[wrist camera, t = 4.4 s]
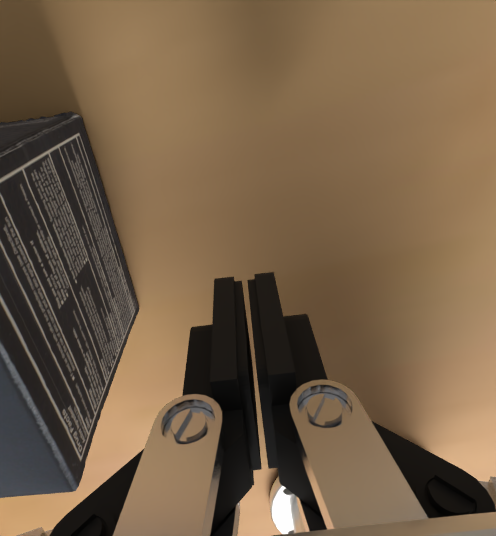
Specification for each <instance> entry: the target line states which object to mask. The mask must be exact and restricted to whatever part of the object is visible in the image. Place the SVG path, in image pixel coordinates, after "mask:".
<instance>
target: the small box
mask: <svg viewBox="0 0 496 536" xmlns="http://www.w3.org/2000/svg"><path fill="white" fill-rule="evenodd" d="M138 312H139V306H138V303H137V299H136V296H135V292H134V288H133V285H132V282H131V278H130V275H129V272H128V269H127V265H126V262H125V258H124V255H123V252H122V249H121V245H120V242H119V238H118V235H117V232H116V229H115V225H114V222H113V218H112V215H111V212H110V208H109V205H108V202H107V198H106V195H105V192H104V188H103V185H102V182H101V179H100V175H99V172H98V168H97V165H96V162H95V159H94V156H93V152H92V149H91V146H90V143H89V140H88V137H87V133H86V130H85V127H84V124H83V119H82V117H81V116H79V115H77V114H75V113H73V112H68V113H61V114H58V115H55V116H54V117H44V116H43V117H40V118H39V119H32V118H31V119H28V120H26V121H23V120H20V121H17V122H9V123H4V122H1V123H0V498H4V497H14V496H26V495H38V494H51V493H62V492H73V491H76V489H77V488H78V486H79V483H80V481H81V478H82V474H83V471H84V468H85V461H86V458H87V455H88V452H89V449H90V446H91V443H92V438H93V435H94V432H95V429H96V427H97V422H98V420H99V419H100V414H101V410H102V409H103V406H104V403H105V400H106V398H107V396H108V393H109V389H110V386H111V384H112V381H113V378H114V375H115V373H116V370H117V367H118V364H119V362H120V359H121V356H122V353H123V349H124V347H125V345H126V342H127V339H128V336H129V334H130V331H131V329H132V326H133V324H134V321H135V318H136V316H137V314H138Z"/></svg>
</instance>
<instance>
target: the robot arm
mask: <svg viewBox="0 0 496 536" xmlns="http://www.w3.org/2000/svg"><path fill="white" fill-rule="evenodd" d="M248 289H249V299H250V309H251V319H252V329H253V339H254V349H255V359H256V369H257V378H258V387H259V395H260V403H261V411H262V419H263V427H264V435H265V443H266V451H267V459H268V467H269V468H278V475H279V476H278V477H277V479H276V481H275V482H274V484H273V486H272V489H271V492H270V510H271V517H272V520H273V522H274V524H275V526H276V527H277V528H278V530H279V531H280V532H281V533H282V535H273V536H496V477H490V480H489V482H483V481H478V480H477V479H476V478H474V477H473V476H471V475H470V474H468V473H467V472H465V471H464V470H462V469H460V468H458V467H456V466H455V465H453V464H451V463H449V462H447V461H445V460H443V459H441V458H440V457H438V456H436V455H434V454H432V453H430V452H428V451H427V450H425V449H423V448H421V447H419V446H417V445H415V444H413V443H412V442H410V441H408V440H406V439H404V438H402V437H400V436H399V435H397V434H395V433H393V432H391V431H389V430H387V429H385V428H384V427H382V426H380V425H378V424H376V423H374V422H372V421H371V420H370V418H369V416H368V415H367V413H366V411H365V409H364V408H363V406H362V404H361V403H360V401H359V399H358V398H357V396H356V395H355V394H354V393H353V391H352V390H351V389H349V388H348V387H346V386H345V385H343V384H341V383H338V382H335V381H332V380H327V376H326V373H325V370H324V367H323V364H322V360H321V357H320V354H319V351H318V347H317V344H316V341H315V338H314V334H313V331H312V328H311V325H310V321H309V318H308V316H307V314H302V315H293V316H284V317H283V313H282V309H281V304H280V300H279V295H278V290H277V286H276V281H275V277H274V272H270V273H261V274H255V279H253V280H248ZM260 469H261V458H260V446H259V435H258V423H257V412H256V401H255V389H254V378H253V367H252V357H251V349H250V341H249V333H248V326H247V318H246V310H245V302H244V295H243V287H242V281H236V282H235V281H234V277H227V278H218V279H215V280H214V301H213V324H212V325H206V326H197V327H192V328H191V330H190V337H189V346H188V354H187V362H186V371H185V379H184V387H183V396H181V397H179V398H176V399H174V400H172V401H171V402H169V403H168V404H166V405H165V406H164V407H163V408H162V409H161V410H160V411H159V413H158V415H157V417H156V419H155V421H154V423H153V426H152V429H151V432H150V434H149V437H148V440H147V443H146V445H145V448H144V449H143V450H142V451H141V452H140V453H139V454H137V455H136V456H135V457H134V458H133V459H131V460H130V461H129V462H128V463H127V464H126V465H124V466H123V467H122V468H121V469H120V470H119V471H117V472H116V473H115V474H114V475H113V476H111V477H110V478H109V479H108V480H107V481H106V482H104V483H103V484H102V485H101V486H100V487H98V488H97V489H96V490H95V491H94V492H93V493H91V494H90V495H89V496H88V497H87V498H85V499H84V500H83V501H82V502H81V503H80V504H78V505H77V506H76V507H75V508H74V509H73V510H71V511H70V512H69V513H68V514H67V515H66V516H65V517H64V518H63V519H62V520H61V521H60V522H59V523H58V524H57V525H56V526H55V527H54V529H52V530H49V531H46V532H44V530H43V528H42V527H41V528H38V529H35V530H32V531H29V532H26V533H23V534H20V535H17V536H237V534H238V525H239V516H240V502H239V501H240V500H241V499H242V498H243V497H244V496H245V494H246V493H247V492H248V491H249V490H250V489H251V488H252V485H254V478H253V470H260Z"/></svg>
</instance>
